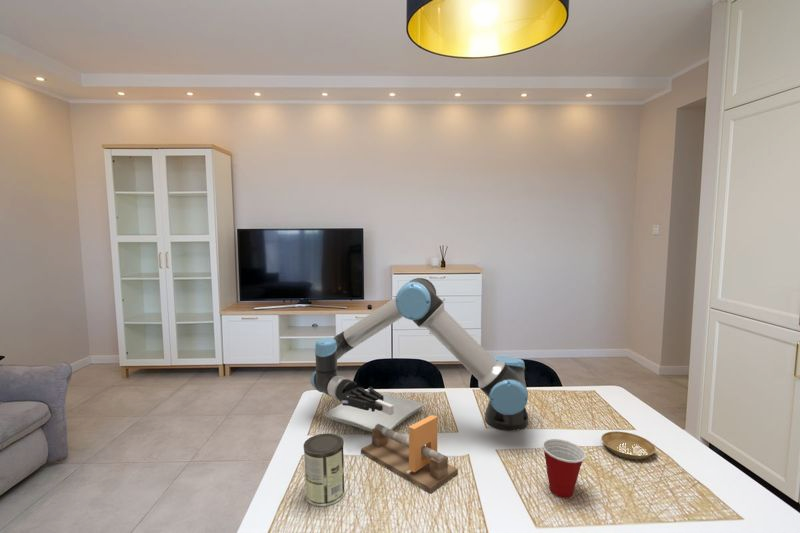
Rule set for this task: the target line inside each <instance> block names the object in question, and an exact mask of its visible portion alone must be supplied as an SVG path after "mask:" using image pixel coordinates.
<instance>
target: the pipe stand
mask: <svg viewBox="0 0 800 533" xmlns="http://www.w3.org/2000/svg"><path fill="white" fill-rule="evenodd" d="M360 450H361V452H360V453H361V454H362V456H364V457H367V458H368V459H370V460H372V461H374V462H375V463H378V464H379V465H381V466H382V467H384V468H386V469H387V470H390V471H391V472H393V473H394V474H396V475H399V477H401V478H403V479H404V480H407V481H408V482H410V483H411V484H413V485H415V486H416V487H419V488H420V489H421V490H423V491H425V492H427V493H429V494H432V493H433V492H435V491H436V490H437V489H440V488H441V486H444V484H446V483H447V482H448V481H450V480H451V479H453V478H454V477H456V476H457V475H458V474H459V468H458V467H455V466H453V465H451V464H449V457H448V456H446V455H445V454H442V453H440V452H438V451H437V452H436V451H434V450H432V449H430V448H428V447H426V445H424V446H422V447H421V456H422V455H424V456H426V457H428V458H430V463H429V464H427V465H425V466H424V467H422V468H421V469H419V470H418V471H416V472H412V471H411V470H409V437H408V436H405V435H403V434H401V433H399V432H397V431H395V430H394V429H392V430H391V429H389V428H387V427H385V426H383V425H380V424H377V425H376V426H375V428H373V429H372V432H371V443H370V444H368V445H366V446H364V447H362V448H360Z"/></svg>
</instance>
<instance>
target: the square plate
mask: <svg viewBox="0 0 800 533" xmlns="http://www.w3.org/2000/svg"><path fill="white" fill-rule="evenodd" d="M377 392H378V393H380V394H381V395H382V396H383V399H384V401H385V402H387V403H389V404H392V405H394V414H392V415H388V414H386V413H384V412H381V411H378V410H376V409H375V411H374V412H372V409H369V410H368V411H367V410H363V409H359V408H355V407H351V406H345V405H342V403H340V404H339V405H337V406H335V407H333V408H331V409H329V411H327V412H325V413H324V416H325V417H327V418H328V419H329V420H332V421H334V422H337V423H340V424H344V425H349V426H352V427H354V428H358V429H361V430H363V431H367V432H370V433H372V429H373V428H375V426H376V425H377V424H380V425H383V426H385V427H387V428H389V429H391V430H394V429H395V428H396V427H397V426H399V425H400V424H401V423H402V422H404V421H405V420H407V419H408V418H409V417H411V416H412V415H414V414H416V413H417V412H419V411H420V410H421V409H422V407H423V406H424V405H425V403H424V402H421V401H418V400H413V399H410V398H406V397H402V396H398V395H395V394H394V395H393V394H390V393H385V392H381V391H377Z"/></svg>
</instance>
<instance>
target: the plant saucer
mask: <svg viewBox="0 0 800 533" xmlns="http://www.w3.org/2000/svg"><path fill="white" fill-rule="evenodd" d="M601 441H602V444H604V446H605V447H606V448H607V449H608V450H609V451H610V452H611V453H613V454H615V455H616V456H618V455H619V457H620V458H621V457H622V458H623V457H624V459H627V458H628V460H633V459H635V460H636V461H637V460H639V459H640V460H643V459H644V460H645V459H646V458H647V459H648V457H649V458H650V457H651V456H652V455H653V454H654V453H655V451H656V447H655V445H654V444H653V443H652V442H651V441H649V440H648V439H646V438H644V437H642V436H640V435H637V434H635V433H630V432H625V431H619V430H618V431H616V430H615V431H608V432H605V433H603V434H602V435H601ZM623 443H624V446H625V443H626V449H627V447H628V448H629V453H630V449H631V452H632V454H633V448H632V445H633V447H635V446H636V444H637V445H639V446H640V447H643V448H644V449H646V450H647V452H648V455H643V453H642V455H641V456H638V455H630V454H625V453H622V452H619V445H620V444H621V447H622V444H623ZM634 444H635V446H634ZM617 447H618V451H617ZM626 453H627V450H626Z"/></svg>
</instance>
